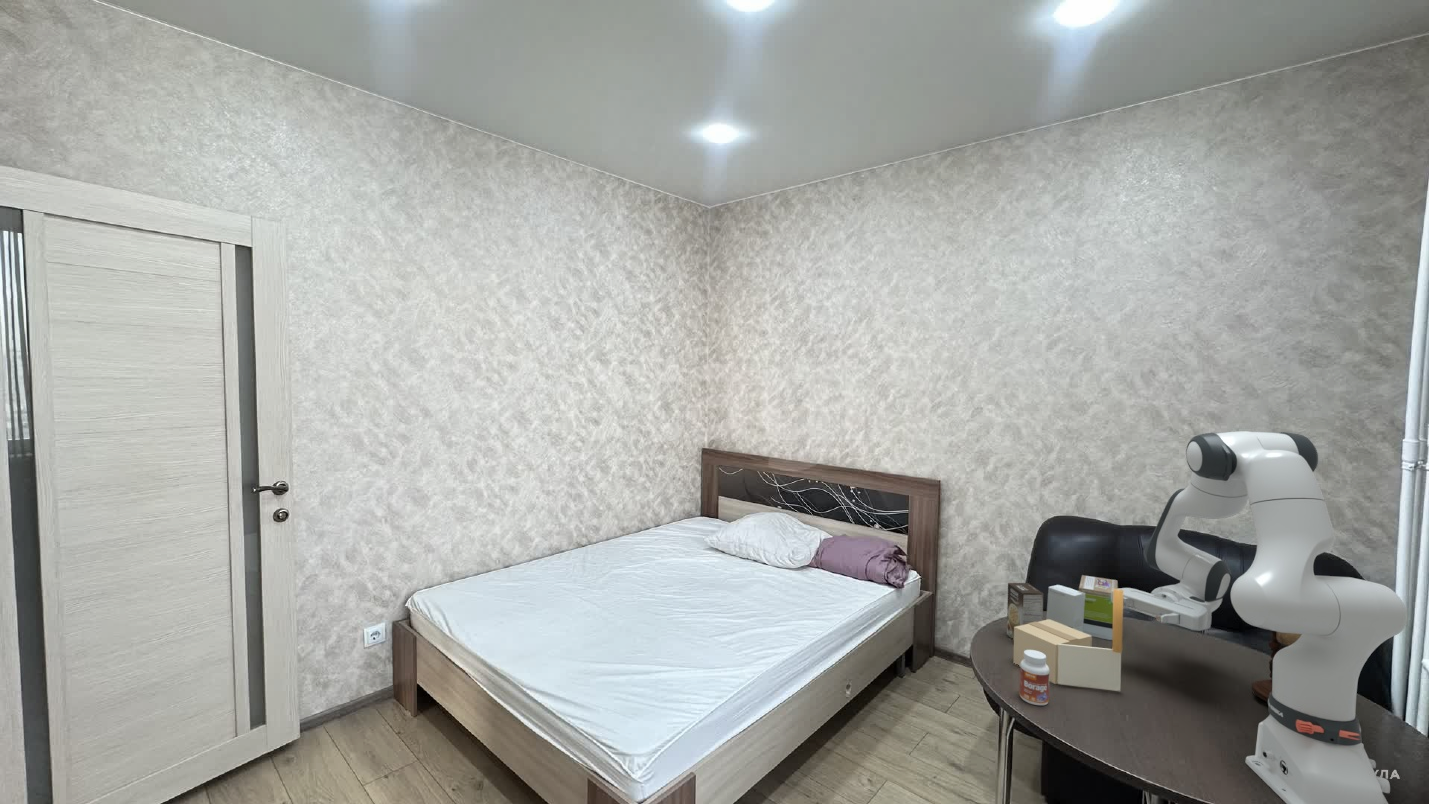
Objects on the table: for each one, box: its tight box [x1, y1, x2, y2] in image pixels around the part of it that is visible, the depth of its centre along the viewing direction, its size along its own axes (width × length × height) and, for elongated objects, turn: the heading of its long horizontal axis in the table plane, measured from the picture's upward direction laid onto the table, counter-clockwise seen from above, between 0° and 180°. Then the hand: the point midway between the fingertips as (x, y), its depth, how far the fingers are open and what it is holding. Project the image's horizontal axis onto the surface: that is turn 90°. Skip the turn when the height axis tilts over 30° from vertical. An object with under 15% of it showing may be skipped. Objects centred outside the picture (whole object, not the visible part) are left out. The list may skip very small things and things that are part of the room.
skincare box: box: [1045, 584, 1085, 632], centre depth 172 cm, size 8×6×15 cm
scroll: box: [1251, 630, 1302, 703], centre depth 135 cm, size 15×15×20 cm
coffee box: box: [1006, 582, 1044, 641], centre depth 170 cm, size 9×6×16 cm
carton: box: [1013, 619, 1093, 685], centre depth 153 cm, size 12×14×10 cm
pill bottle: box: [1019, 650, 1050, 706], centre depth 137 cm, size 6×6×11 cm
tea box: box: [1078, 574, 1119, 641], centre depth 178 cm, size 15×10×15 cm, turn 144°
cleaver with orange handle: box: [1057, 589, 1124, 692], centre depth 142 cm, size 2×14×25 cm, turn 76°
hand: (1138, 612), depth 143 cm, fingers open, 8 cm apart
